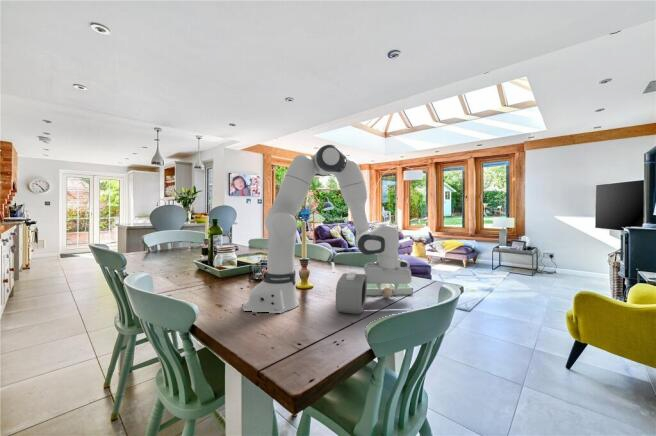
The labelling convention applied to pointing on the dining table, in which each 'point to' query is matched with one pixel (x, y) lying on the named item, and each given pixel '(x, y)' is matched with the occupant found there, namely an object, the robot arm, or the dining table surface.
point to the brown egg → (387, 292)
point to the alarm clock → (351, 293)
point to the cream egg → (385, 285)
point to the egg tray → (401, 289)
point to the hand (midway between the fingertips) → (387, 293)
